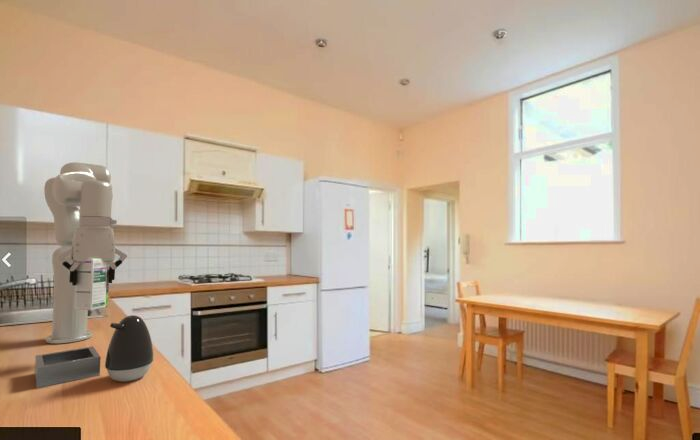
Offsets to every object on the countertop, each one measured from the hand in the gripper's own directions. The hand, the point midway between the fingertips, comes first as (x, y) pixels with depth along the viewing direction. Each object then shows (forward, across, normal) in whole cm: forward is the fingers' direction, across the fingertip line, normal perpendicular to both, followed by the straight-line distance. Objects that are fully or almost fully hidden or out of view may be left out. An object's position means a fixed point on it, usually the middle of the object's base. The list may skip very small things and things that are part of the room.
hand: (92, 283), depth 105 cm
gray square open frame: (+21, +6, +12) cm, 25 cm away
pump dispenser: (+21, -5, +25) cm, 33 cm away
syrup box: (+7, 0, 0) cm, 7 cm away
